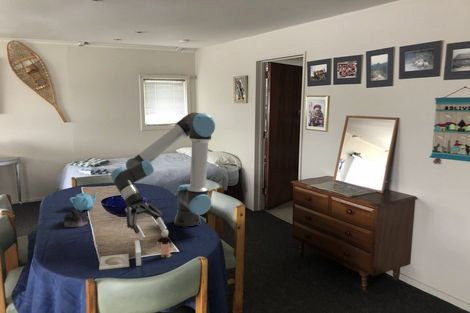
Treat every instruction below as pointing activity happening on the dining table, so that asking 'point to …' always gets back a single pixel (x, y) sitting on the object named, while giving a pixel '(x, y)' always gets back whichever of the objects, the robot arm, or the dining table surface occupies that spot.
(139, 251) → the low wall
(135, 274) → the dining table surface
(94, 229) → the dining table surface
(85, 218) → the crystal cluster
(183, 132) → the robot arm
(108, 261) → the resting pad
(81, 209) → the teapot
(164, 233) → the grandmother figurine
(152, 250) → the dining table surface
